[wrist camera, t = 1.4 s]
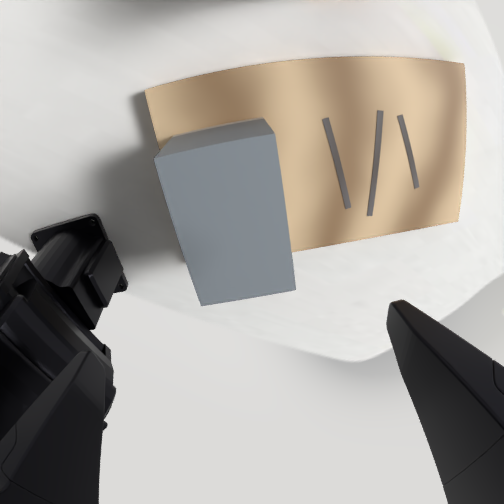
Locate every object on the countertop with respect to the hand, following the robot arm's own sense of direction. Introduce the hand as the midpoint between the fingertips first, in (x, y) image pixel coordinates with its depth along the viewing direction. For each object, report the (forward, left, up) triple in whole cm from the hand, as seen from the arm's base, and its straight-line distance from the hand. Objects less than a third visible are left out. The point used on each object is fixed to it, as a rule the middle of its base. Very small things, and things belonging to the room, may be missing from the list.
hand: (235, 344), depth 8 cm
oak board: (+7, +1, -13) cm, 14 cm away
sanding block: (0, 0, -12) cm, 12 cm away
